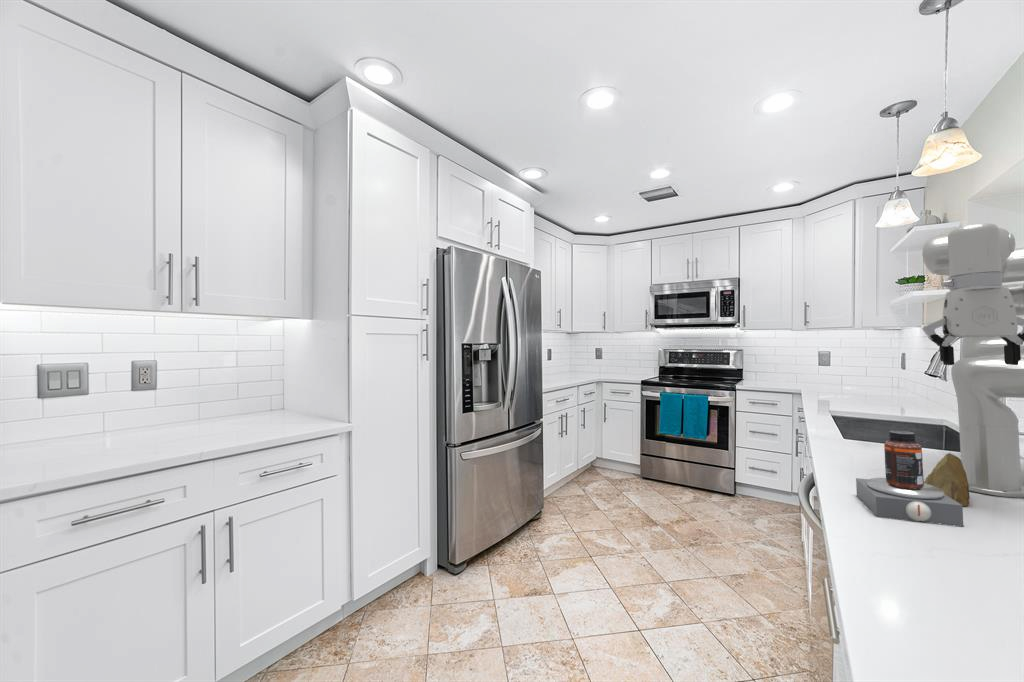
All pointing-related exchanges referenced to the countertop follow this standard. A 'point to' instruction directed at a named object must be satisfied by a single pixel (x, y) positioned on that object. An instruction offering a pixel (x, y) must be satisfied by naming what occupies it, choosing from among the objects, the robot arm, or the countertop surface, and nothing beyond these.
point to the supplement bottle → (903, 460)
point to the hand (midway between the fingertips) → (979, 364)
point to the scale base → (910, 506)
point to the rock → (950, 479)
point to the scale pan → (905, 490)
